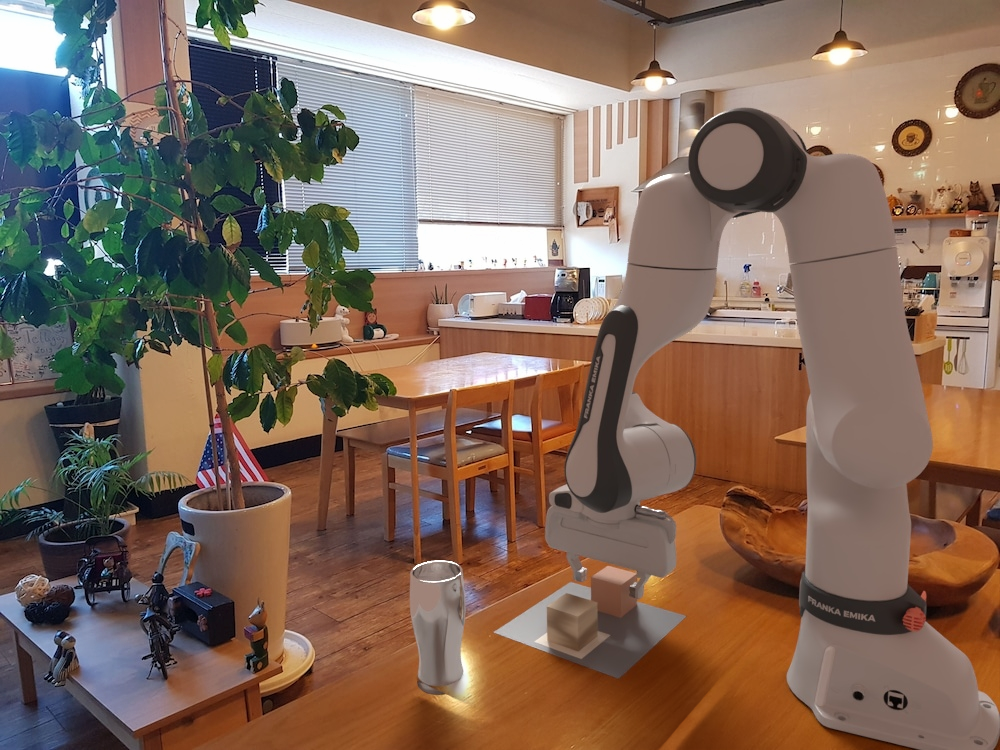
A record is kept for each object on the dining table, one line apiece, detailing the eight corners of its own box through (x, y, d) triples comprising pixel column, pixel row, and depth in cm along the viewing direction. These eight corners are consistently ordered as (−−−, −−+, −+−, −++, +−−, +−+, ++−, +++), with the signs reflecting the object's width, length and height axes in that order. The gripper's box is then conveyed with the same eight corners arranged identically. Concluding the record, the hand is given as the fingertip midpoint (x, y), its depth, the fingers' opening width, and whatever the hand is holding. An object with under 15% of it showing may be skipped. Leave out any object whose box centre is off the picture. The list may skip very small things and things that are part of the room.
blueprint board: (686, 623, 109) (686, 615, 109) (618, 687, 93) (618, 678, 93) (570, 588, 121) (570, 581, 121) (493, 640, 106) (493, 632, 105)
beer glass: (402, 689, 94) (397, 576, 92) (432, 662, 100) (428, 556, 98) (450, 703, 91) (445, 587, 89) (478, 674, 97) (474, 565, 95)
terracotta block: (637, 604, 112) (637, 573, 112) (620, 617, 109) (620, 585, 108) (607, 596, 115) (607, 565, 115) (591, 608, 112) (590, 577, 111)
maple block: (597, 636, 103) (597, 602, 103) (578, 651, 100) (577, 616, 99) (567, 625, 107) (566, 593, 106) (547, 640, 103) (546, 606, 102)
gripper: (685, 507, 105) (682, 599, 108) (561, 481, 117) (561, 564, 120) (666, 520, 100) (663, 616, 103) (539, 492, 112) (539, 578, 115)
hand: (607, 588), depth 111 cm, fingers open, 8 cm apart
